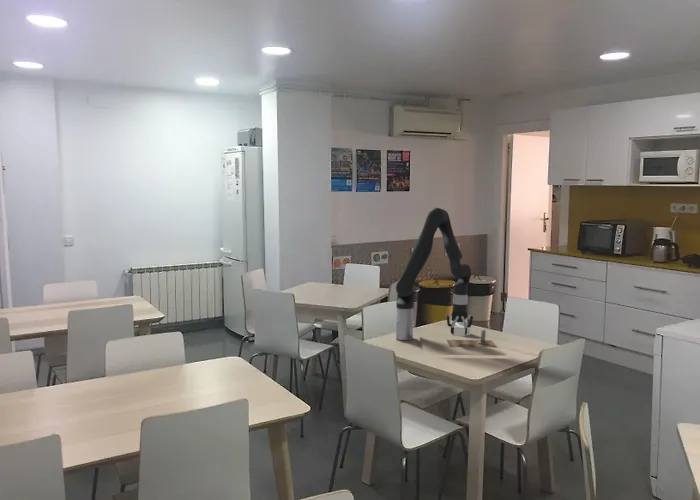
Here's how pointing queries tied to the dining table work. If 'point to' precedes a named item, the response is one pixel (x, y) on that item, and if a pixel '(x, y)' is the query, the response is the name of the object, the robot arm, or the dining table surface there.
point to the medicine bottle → (464, 326)
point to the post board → (473, 342)
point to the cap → (459, 331)
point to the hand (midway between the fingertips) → (458, 334)
